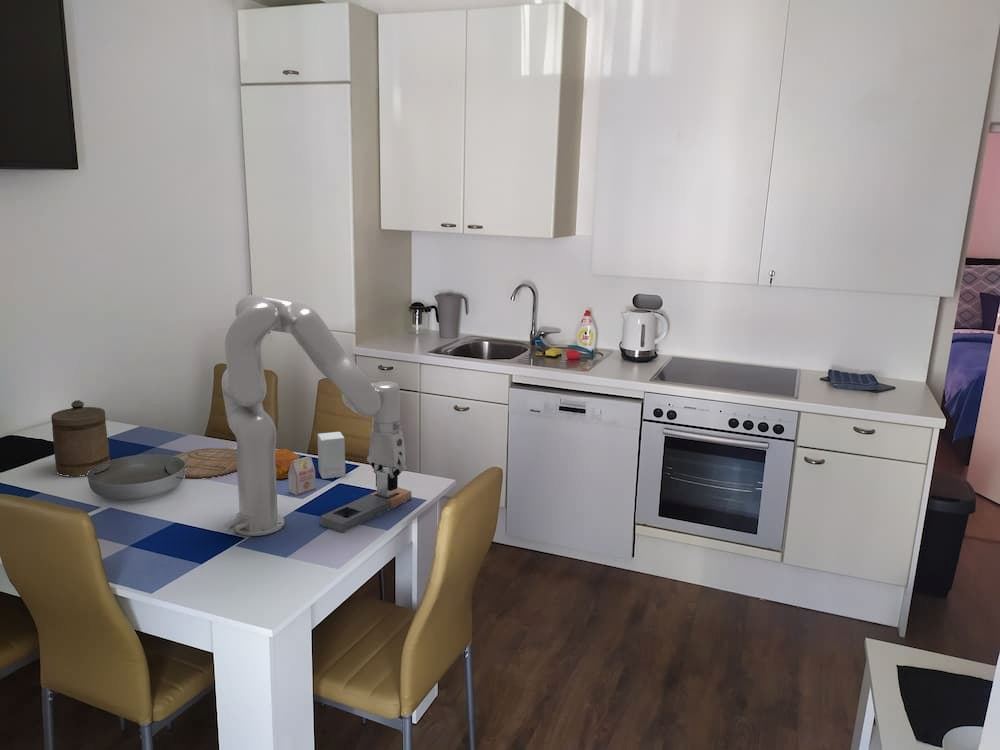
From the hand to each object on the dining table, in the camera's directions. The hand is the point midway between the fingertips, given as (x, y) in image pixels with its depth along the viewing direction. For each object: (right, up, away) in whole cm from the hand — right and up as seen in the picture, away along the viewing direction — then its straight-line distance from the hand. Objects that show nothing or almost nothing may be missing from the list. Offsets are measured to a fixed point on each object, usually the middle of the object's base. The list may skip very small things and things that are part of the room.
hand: (386, 487), depth 219 cm
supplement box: (-20, +1, +22) cm, 30 cm away
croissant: (-37, +1, +23) cm, 43 cm away
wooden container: (-98, +2, +21) cm, 100 cm away
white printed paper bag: (-26, -2, +8) cm, 28 cm away
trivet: (-61, +3, +27) cm, 67 cm away
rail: (-4, -6, -5) cm, 9 cm away
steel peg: (0, -3, +1) cm, 3 cm away
